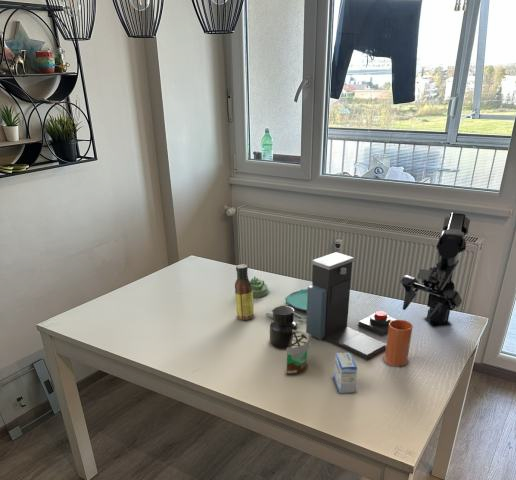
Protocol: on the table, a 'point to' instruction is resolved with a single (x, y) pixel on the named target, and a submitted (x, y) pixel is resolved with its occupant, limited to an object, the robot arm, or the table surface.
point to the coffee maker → (335, 307)
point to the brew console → (376, 324)
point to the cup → (398, 342)
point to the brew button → (380, 315)
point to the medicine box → (345, 372)
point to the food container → (297, 352)
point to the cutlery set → (296, 302)
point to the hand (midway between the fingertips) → (416, 314)
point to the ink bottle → (282, 327)
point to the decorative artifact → (258, 287)
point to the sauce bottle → (243, 294)
